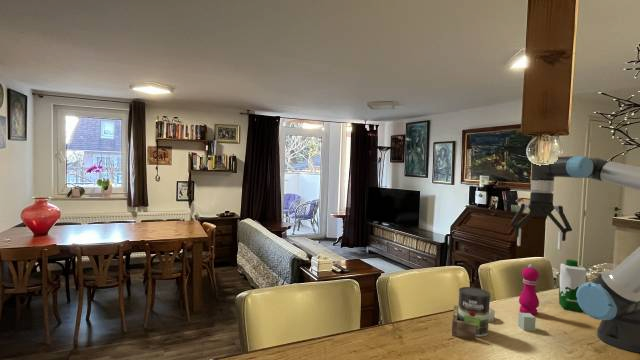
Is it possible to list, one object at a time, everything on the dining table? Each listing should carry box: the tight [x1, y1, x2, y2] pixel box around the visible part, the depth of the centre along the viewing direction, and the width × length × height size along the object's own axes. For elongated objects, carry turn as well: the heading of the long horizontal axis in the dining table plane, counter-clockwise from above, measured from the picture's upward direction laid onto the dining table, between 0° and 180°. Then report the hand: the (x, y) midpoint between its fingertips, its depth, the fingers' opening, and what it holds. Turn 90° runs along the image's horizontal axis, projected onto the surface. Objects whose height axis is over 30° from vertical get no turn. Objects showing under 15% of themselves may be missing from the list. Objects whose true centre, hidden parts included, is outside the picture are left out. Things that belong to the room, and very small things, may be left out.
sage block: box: [517, 312, 537, 332], centre depth 134 cm, size 4×4×5 cm
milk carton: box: [558, 259, 587, 313], centre depth 156 cm, size 9×9×20 cm
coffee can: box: [458, 286, 491, 338], centre depth 130 cm, size 10×10×14 cm
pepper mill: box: [518, 263, 540, 317], centre depth 149 cm, size 7×7×20 cm
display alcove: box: [451, 305, 477, 341], centre depth 132 cm, size 8×16×5 cm, turn 158°
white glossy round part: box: [488, 307, 495, 323], centre depth 142 cm, size 7×7×4 cm
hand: (538, 247), depth 140 cm, fingers open, 13 cm apart
